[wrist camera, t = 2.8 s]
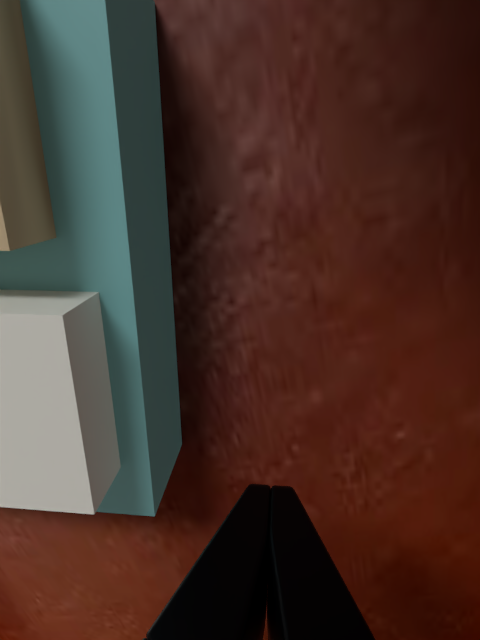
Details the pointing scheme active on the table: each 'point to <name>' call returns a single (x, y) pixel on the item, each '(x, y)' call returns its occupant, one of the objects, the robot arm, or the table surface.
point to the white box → (55, 402)
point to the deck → (109, 218)
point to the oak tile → (20, 142)
